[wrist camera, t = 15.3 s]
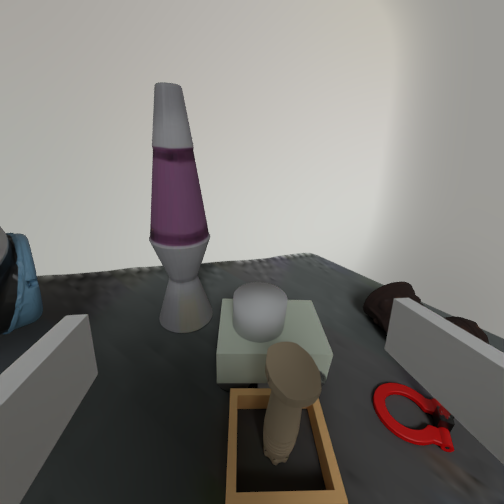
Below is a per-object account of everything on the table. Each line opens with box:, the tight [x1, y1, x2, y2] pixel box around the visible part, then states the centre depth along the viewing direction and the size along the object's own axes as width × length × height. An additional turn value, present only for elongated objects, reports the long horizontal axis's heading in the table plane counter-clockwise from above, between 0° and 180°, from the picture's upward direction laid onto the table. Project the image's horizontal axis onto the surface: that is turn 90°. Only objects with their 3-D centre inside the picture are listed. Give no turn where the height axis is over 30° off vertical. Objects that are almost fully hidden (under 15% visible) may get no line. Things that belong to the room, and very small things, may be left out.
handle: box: [263, 342, 321, 465], centre depth 27 cm, size 5×6×15 cm
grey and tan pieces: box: [216, 282, 348, 504], centre depth 34 cm, size 16×26×13 cm, turn 2°
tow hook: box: [373, 383, 455, 452], centre depth 33 cm, size 8×13×9 cm
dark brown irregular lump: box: [363, 282, 489, 344], centre depth 47 cm, size 10×15×15 cm
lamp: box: [149, 83, 213, 333], centre depth 43 cm, size 11×11×40 cm
